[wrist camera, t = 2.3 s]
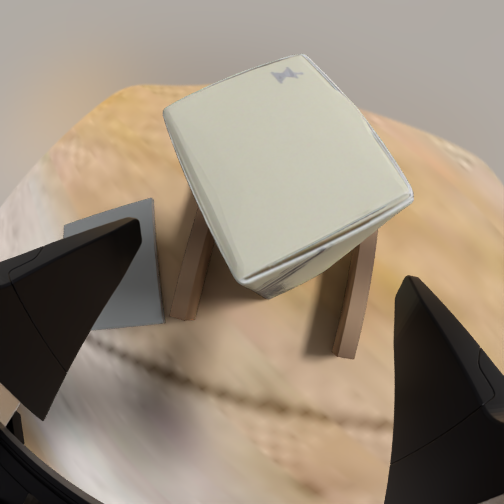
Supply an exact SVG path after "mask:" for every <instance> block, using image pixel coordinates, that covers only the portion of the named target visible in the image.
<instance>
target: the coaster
mask: <svg viewBox="0 0 504 504" xmlns="http://www.w3.org/2000/svg"><path fill="white" fill-rule="evenodd" d="M126 217H132V218H137V219H138V220H139V222H140V228H141V235H142V244H141V246H140V248H139V250H138V252H137V253H136V255H135V257H134V259H133V261H132V263H131V264H130V266H129V268H128V270H127V272H126V274H125V276H124V277H123V279H122V281H121V282H120V284H119V285H118V287H117V288H116V290H115V292H114V293H113V295H112V296H111V298H110V299H109V301H108V303H107V304H106V306H105V307H104V309H103V311H102V312H101V314H100V315H99V317H98V319H97V320H96V322H95V324H94V325H93V327H92V329H91V330H101V329H113V328H124V327H134V326H144V325H153V324H162V323H165V318H164V311H163V303H162V295H161V287H160V278H159V269H158V258H157V246H156V233H155V217H154V200H153V199H152V198H149V199H145V200H142V201H138V202H135V203H131V204H128V205H125V206H121V207H118V208H115V209H111V210H108V211H105V212H102V213H99V214H96V215H93V216H90V217H87V218H84V219H81V220H78V221H75V222H72V223H69V224H66V225H64V238H66V237H69V236H72V235H75V234H78V233H81V232H83V231H86V230H89V229H92V228H95V227H98V226H101V225H104V224H107V223H110V222H114V221H117V220H120V219H123V218H126Z"/></svg>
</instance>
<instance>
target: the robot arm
mask: <svg viewBox="0 0 504 504" xmlns="http://www.w3.org/2000/svg"><path fill="white" fill-rule="evenodd" d="M141 244H142V235H141V228H140V222H139V220H138V219H137V218H132V217H126V218H123V219H120V220H117V221H114V222H110V223H107V224H104V225H101V226H98V227H95V228H92V229H89V230H86V231H83V232H81V233H78V234H75V235H72V236H69V237H66V238H64V239H61V240H58V241H55V242H53V243H50V244H47V245H45V246H44V247H43V246H42V247H40V248H37V249H34V250H32V251H29V252H26V253H24V254H21V255H18V256H16V257H13V258H10V259H7V260H4V261H2V262H0V504H104V503H102V502H100V501H98V500H97V499H95V498H93V497H92V496H90V495H89V494H87V493H85V492H84V491H82V490H81V489H79V488H78V487H76V486H75V485H73V484H72V483H71V482H69V481H68V480H66V479H65V478H64V477H62V476H61V475H59V474H58V473H57V472H56V471H54V470H53V469H52V468H50V467H49V466H48V465H47V464H45V463H44V462H43V461H42V460H40V459H39V458H38V457H37V456H36V455H35V454H33V453H32V452H31V451H30V450H29V449H28V448H27V447H26V446H25V445H24V437H23V431H22V424H21V416H20V414H19V413H18V412H17V411H16V409H17V408H18V406H19V405H20V403H22V404H23V405H24V406H25V407H26V408H27V409H29V410H30V411H31V412H32V413H33V414H34V415H36V416H37V417H38V418H39V419H41V420H42V421H44V419H45V418H46V416H47V413H48V411H49V409H50V407H51V405H52V403H53V400H54V398H55V396H56V394H57V392H58V390H59V388H60V386H61V384H62V382H63V380H64V378H65V376H66V374H67V373H66V372H68V370H69V368H70V366H71V364H72V363H73V361H74V359H75V357H76V355H77V353H78V352H79V350H80V348H81V346H82V344H83V343H84V341H85V339H86V337H87V336H88V334H89V332H90V331H91V329H92V327H93V325H94V324H95V322H96V320H97V319H98V317H99V315H100V314H101V312H102V311H103V309H104V307H105V306H106V304H107V303H108V301H109V299H110V298H111V296H112V295H113V293H114V292H115V290H116V288H117V287H118V285H119V284H120V282H121V281H122V279H123V277H124V276H125V274H126V272H127V270H128V268H129V266H130V264H131V263H132V261H133V259H134V257H135V255H136V253H137V252H138V250H139V248H140V246H141ZM394 368H395V402H394V427H393V441H392V452H391V462H390V464H391V465H390V469H389V476H388V483H387V490H386V496H385V501H384V504H504V375H503V374H502V373H501V372H500V371H499V369H498V368H497V367H496V366H495V365H494V363H493V362H492V361H491V360H490V358H489V357H488V356H487V355H486V353H485V352H484V351H483V349H482V348H480V346H479V345H478V343H477V342H476V341H475V340H474V338H473V337H472V336H471V335H470V334H469V332H468V331H467V330H466V329H465V328H464V327H463V325H462V324H461V323H460V322H459V321H458V320H457V318H456V317H455V316H454V315H453V314H452V313H451V312H450V311H449V310H448V308H447V307H446V306H445V305H444V304H443V303H442V302H441V301H440V300H439V299H438V298H437V296H436V295H435V294H434V293H433V292H432V291H431V290H430V289H429V288H428V287H427V286H426V285H425V284H424V283H423V282H422V281H421V280H420V279H419V278H418V277H414V276H410V275H408V276H406V277H405V278H404V280H403V282H402V284H401V286H400V288H399V290H398V292H397V294H396V297H395V317H394Z"/></svg>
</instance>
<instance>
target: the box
mask: <svg viewBox="0 0 504 504" xmlns="http://www.w3.org/2000/svg"><path fill="white" fill-rule="evenodd" d="M163 117H164V121H165V124H166V127H167V130H168V133H169V136H170V139H171V141H172V144H173V146H174V149H175V152H176V155H177V157H178V160H179V162H180V165H181V167H182V169H183V172H184V174H185V177H186V179H187V182H188V184H189V186H190V189H191V191H192V193H193V195H194V197H195V200H196V202H197V204H198V206H199V209H200V211H201V213H202V215H203V217H204V219H205V221H206V223H207V225H208V227H209V229H210V232H211V234H212V236H213V238H214V240H215V242H216V244H217V246H218V248H219V250H220V252H221V254H222V256H223V258H224V260H225V262H226V264H227V265H228V267H229V269H230V271H231V273H232V275H233V277H234V278H235V280H236V281H237V282H238V283H239V284H241V285H242V286H244V287H246V288H248V289H251V290H252V291H254V292H256V293H257V294H259V295H261V296H262V297H264V298H266V299H271V298H273V297H276V296H278V295H280V294H282V293H284V292H286V291H289V290H291V289H293V288H295V287H297V286H299V285H301V284H303V283H305V282H307V281H308V280H310V279H312V278H314V277H316V276H317V275H319V274H321V273H322V272H324V271H325V270H327V269H328V268H329V267H331V266H332V265H333V264H334V263H336V262H337V261H338V260H340V259H341V258H342V257H343V256H345V255H346V254H347V253H349V252H350V251H351V250H352V249H353V248H355V247H356V246H357V245H359V244H360V243H361V242H363V241H364V240H365V239H366V238H367V237H369V236H370V235H371V234H373V233H374V232H375V231H376V230H377V229H378V228H380V227H381V226H382V225H383V224H385V223H386V222H387V221H388V220H390V219H391V218H392V217H393V216H395V215H396V214H398V213H399V212H400V211H402V210H403V209H405V208H406V207H407V206H409V205H410V204H411V203H412V202H413V201H414V196H413V191H412V188H411V186H410V184H409V182H408V180H407V179H406V177H405V175H404V174H403V172H402V170H401V169H400V167H399V166H398V164H397V162H396V161H395V159H394V158H393V157H392V155H391V154H390V152H389V150H388V149H387V147H386V146H385V144H384V143H383V142H382V140H381V139H380V137H379V136H378V135H377V133H376V132H375V131H374V129H373V128H372V127H371V125H370V124H369V123H368V121H367V120H366V119H365V117H364V116H363V115H362V113H361V112H360V111H359V109H358V108H357V107H356V106H355V105H354V104H353V103H352V102H351V101H350V100H349V99H348V98H347V97H346V96H345V94H344V93H343V92H342V91H341V90H340V89H339V88H338V87H337V86H336V84H335V83H334V82H333V81H332V80H331V79H330V78H329V77H328V76H327V75H326V74H325V73H324V72H323V71H322V70H321V69H320V68H319V67H318V66H317V65H316V64H315V63H314V62H313V61H312V60H311V59H310V58H309V57H308V56H306V55H305V54H299V55H292V56H288V57H285V58H281V59H279V60H276V61H273V62H269V63H266V64H263V65H260V66H257V67H255V68H251V69H249V70H246V71H243V72H241V73H238V74H235V75H233V76H231V77H228V78H226V79H223V80H221V81H219V82H216V83H214V84H212V85H210V86H207V87H205V88H203V89H201V90H199V91H197V92H195V93H192V94H190V95H188V96H186V97H184V98H182V99H180V100H178V101H176V102H175V103H173V104H171V105H169V106H167V107H166V108H165V109H164V110H163Z"/></svg>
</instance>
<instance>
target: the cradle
mask: <svg viewBox="0 0 504 504" xmlns="http://www.w3.org/2000/svg"><path fill="white" fill-rule="evenodd" d="M377 234H378V229H377V230H376V231H375V232H374V233H373V234H371V235H370V236H369V237H367V238H366V239H365V240H364V241H363V242H361V243H360V244H359V245H357V246H356V247H355V248H353V251H352V257H351V263H350V269H349V275H348V280H347V286H346V291H345V296H344V301H343V306H342V310H341V315H340V320H339V324H338V328H337V333H336V337H335V341H334V345H333V349H332V352H333V353H334V354H335V355H336V356H337V357H342V358H348V359H354V358H355V354H356V350H357V346H358V342H359V338H360V333H361V329H362V324H363V320H364V315H365V310H366V305H367V300H368V295H369V289H370V283H371V277H372V271H373V265H374V258H375V251H376V243H377ZM214 241H215V240H214V238H213V236H212V234H211V232H210V229H209V227H208V225H207V223H206V221H205V219H204V217H203V215H202V213H201V211H200V209H199V206H198V210H197V213H196V216H195V220H194V223H193V227H192V230H191V234H190V237H189V241H188V244H187V248H186V252H185V255H184V259H183V263H182V267H181V270H180V274H179V278H178V282H177V286H176V290H175V294H174V298H173V303H172V307H171V311H170V315H169V316H171V317H175V318H178V319H181V320H184V321H185V320H195V317H196V313H197V309H198V305H199V300H200V296H201V292H202V288H203V284H204V280H205V276H206V272H207V268H208V264H209V261H210V257H211V253H212V249H213V245H214Z"/></svg>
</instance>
